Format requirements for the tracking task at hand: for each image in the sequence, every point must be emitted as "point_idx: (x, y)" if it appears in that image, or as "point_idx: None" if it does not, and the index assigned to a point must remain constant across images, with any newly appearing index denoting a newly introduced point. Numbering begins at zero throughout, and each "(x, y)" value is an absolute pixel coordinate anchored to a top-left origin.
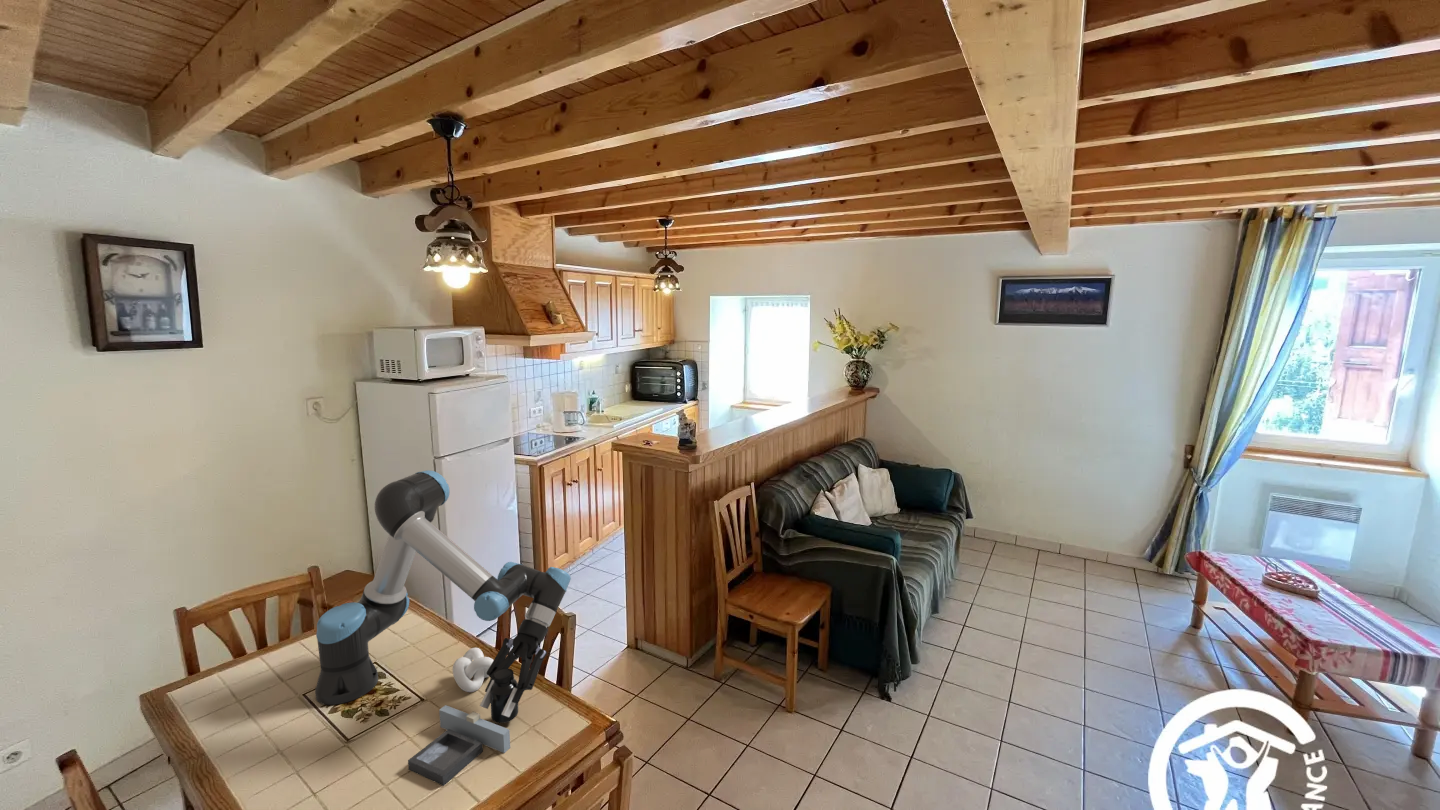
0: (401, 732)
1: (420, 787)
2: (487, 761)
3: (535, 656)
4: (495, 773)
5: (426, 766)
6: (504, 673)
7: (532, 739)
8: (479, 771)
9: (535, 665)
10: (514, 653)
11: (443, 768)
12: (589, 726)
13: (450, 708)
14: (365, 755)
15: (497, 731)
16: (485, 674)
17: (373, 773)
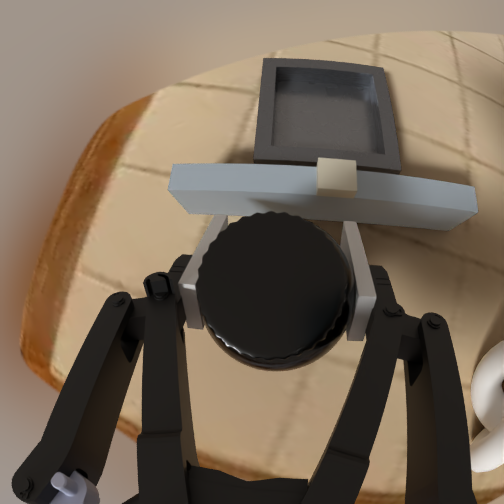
0: (496, 167)
1: None
2: (218, 153)
3: (59, 455)
4: (173, 136)
5: (326, 63)
6: (268, 288)
7: (147, 265)
8: (215, 125)
9: (60, 397)
10: (308, 489)
11: (304, 97)
12: (47, 355)
13: (453, 203)
14: (482, 101)
15: (201, 166)
16: (483, 434)
17: (426, 69)
